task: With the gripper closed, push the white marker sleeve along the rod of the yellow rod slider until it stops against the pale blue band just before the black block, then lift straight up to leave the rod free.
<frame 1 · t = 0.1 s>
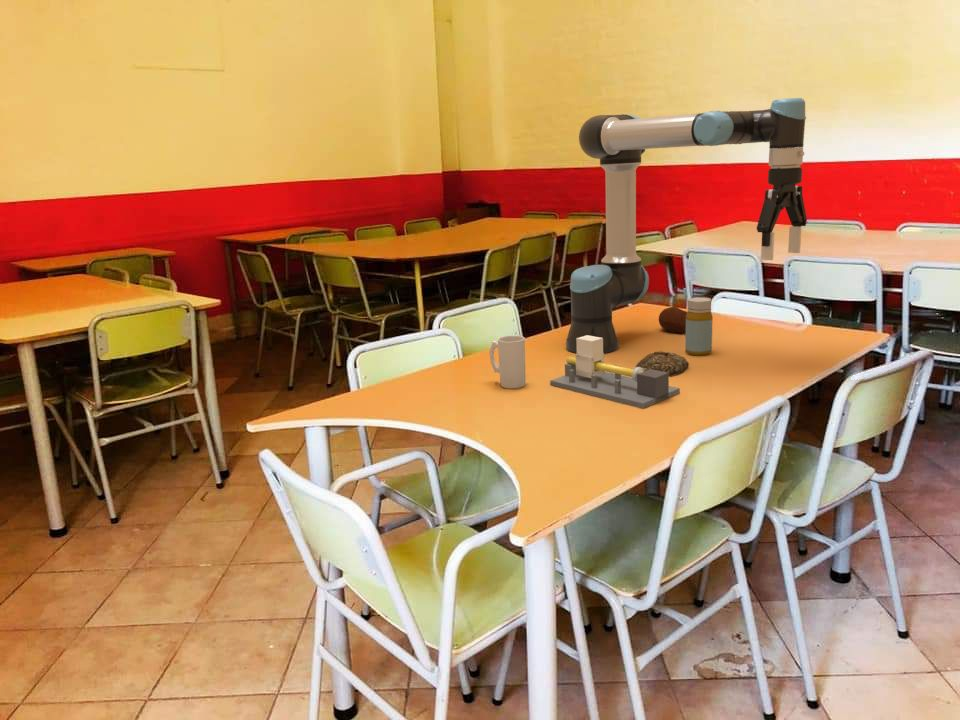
hand: (780, 256, 183), 28 cm above the table, fingers open, 13 cm apart
bread roll: (660, 370, 194), on the table
sleeve: (589, 356, 183), point 7 cm above the table, slide at 0.0 cm
bottle: (698, 353, 206), on the table
potato: (675, 332, 231), on the table
yellow rod slider: (612, 388, 180), on the table
mug: (507, 385, 188), on the table
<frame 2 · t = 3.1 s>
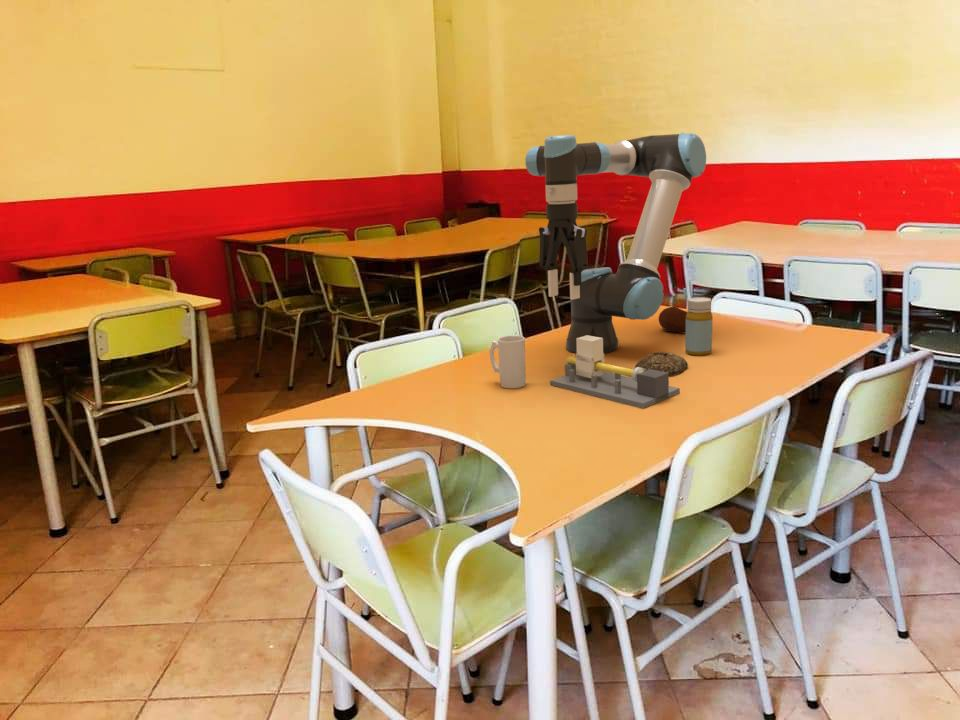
hand: (564, 297, 185), 21 cm above the table, fingers open, 6 cm apart
nothing on the table moved.
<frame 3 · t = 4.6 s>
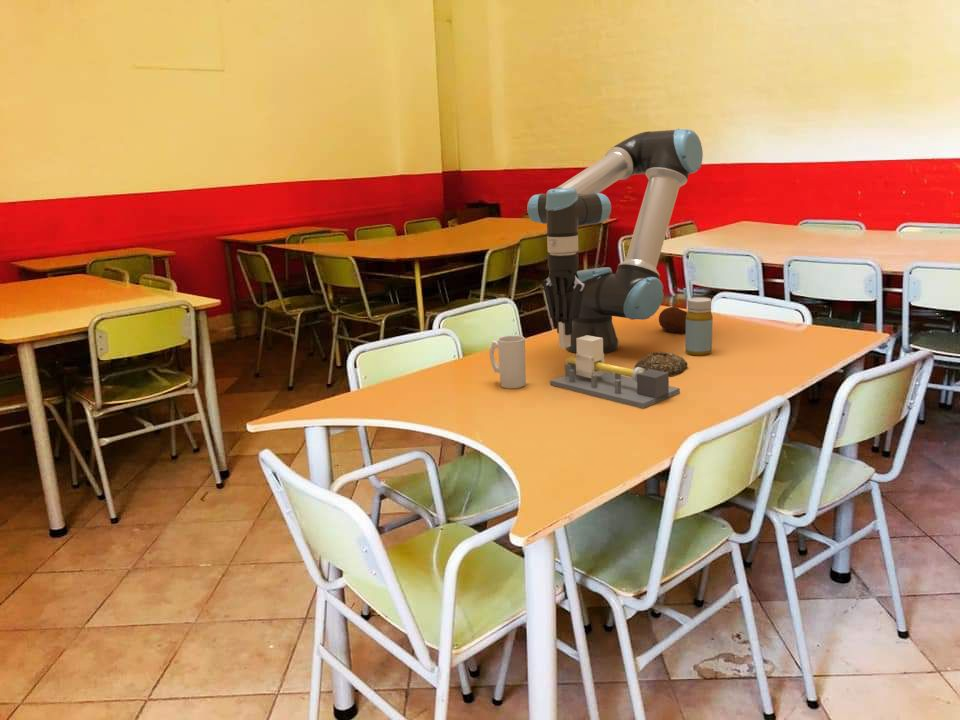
hand: (564, 346, 188), 8 cm above the table, fingers closed
nothing on the table moved.
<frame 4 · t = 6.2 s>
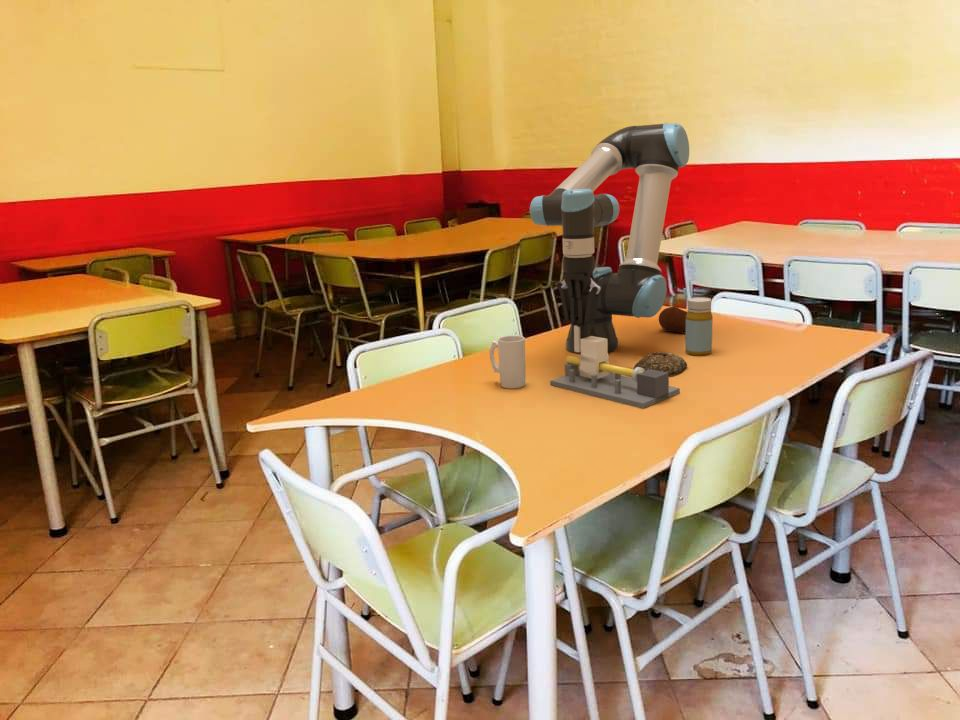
hand: (580, 350, 185), 8 cm above the table, fingers closed
sleeve: (594, 357, 182), point 7 cm above the table, slide at 1.4 cm, touching gripper
everything else where it was.
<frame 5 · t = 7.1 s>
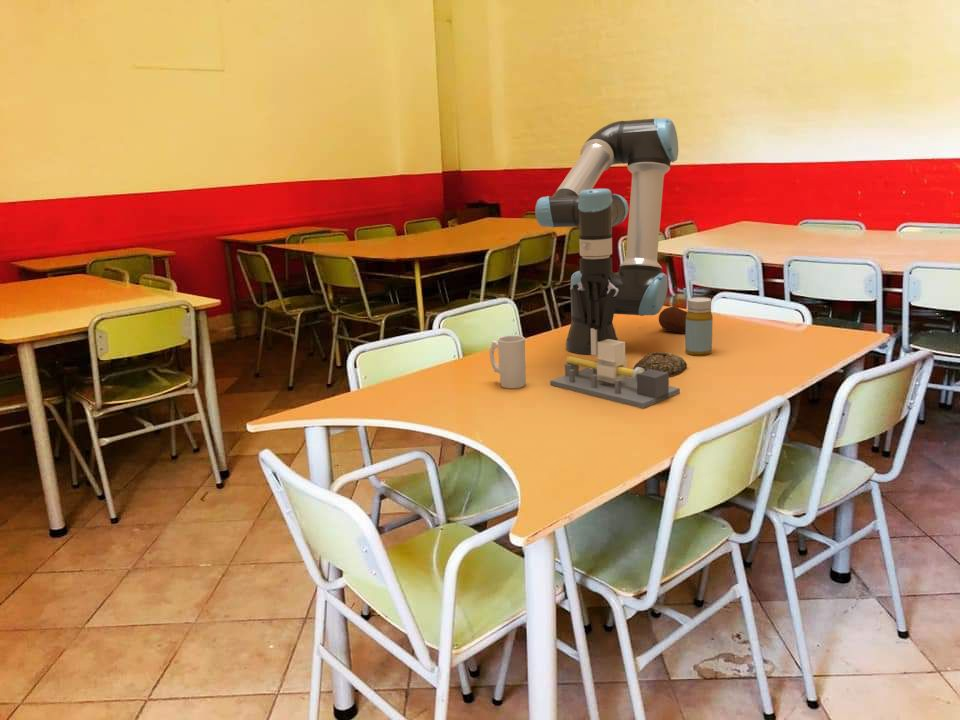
hand: (597, 353, 181), 8 cm above the table, fingers closed
sleeve: (611, 360, 178), point 7 cm above the table, slide at 6.7 cm, touching gripper
everything else where it was.
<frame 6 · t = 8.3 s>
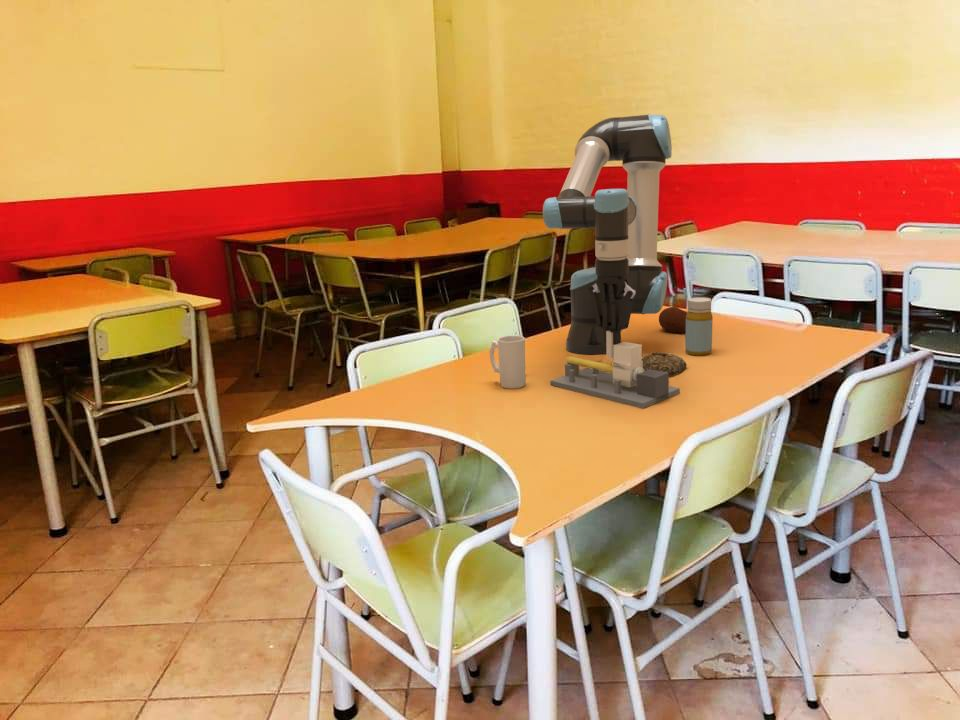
hand: (612, 357, 177), 8 cm above the table, fingers closed
sleeve: (627, 364, 174), point 7 cm above the table, slide at 11.4 cm, touching gripper
everything else where it was.
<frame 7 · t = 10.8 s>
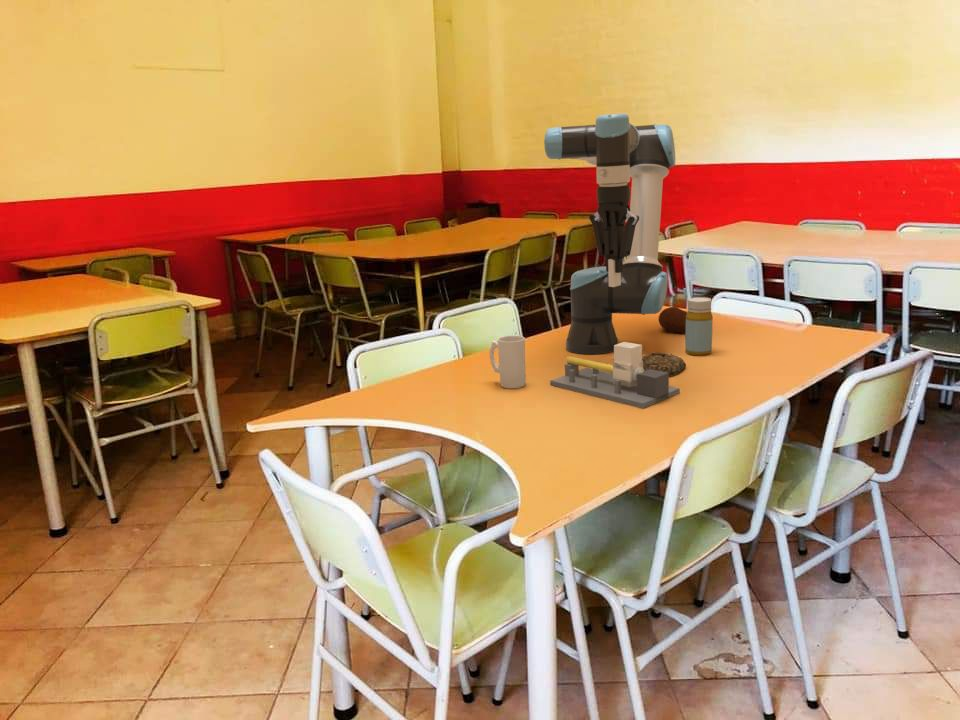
hand: (614, 285, 178), 24 cm above the table, fingers closed
sleeve: (627, 364, 174), point 7 cm above the table, slide at 11.5 cm, touching yellow rod slider
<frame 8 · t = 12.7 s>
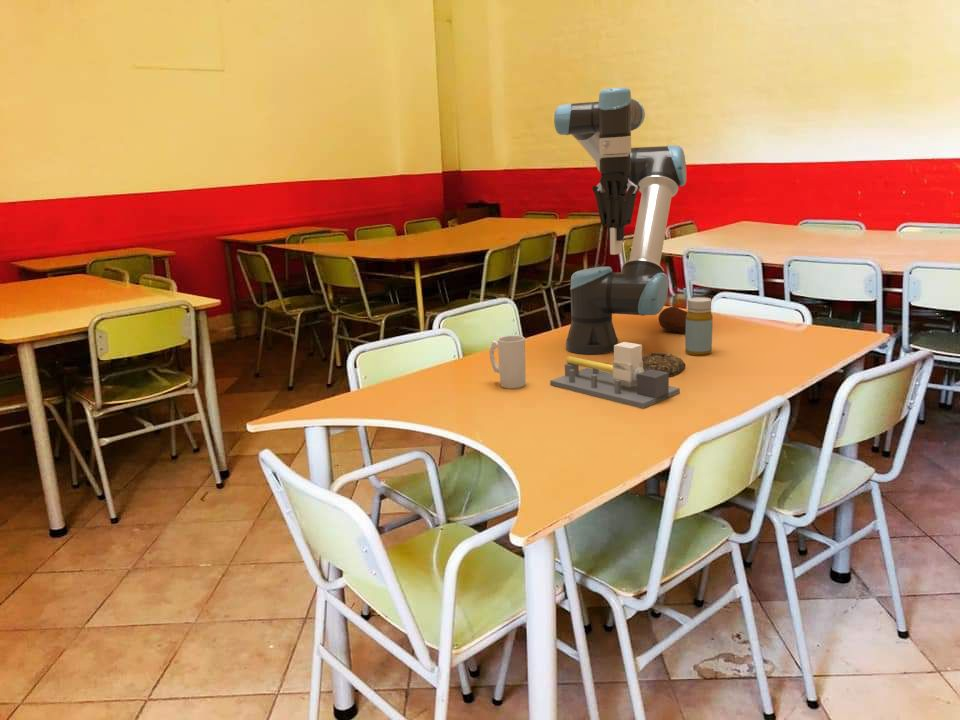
hand: (616, 253, 186), 30 cm above the table, fingers closed
at the end: sleeve slide at 11.5 cm; the gripper is holding nothing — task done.
